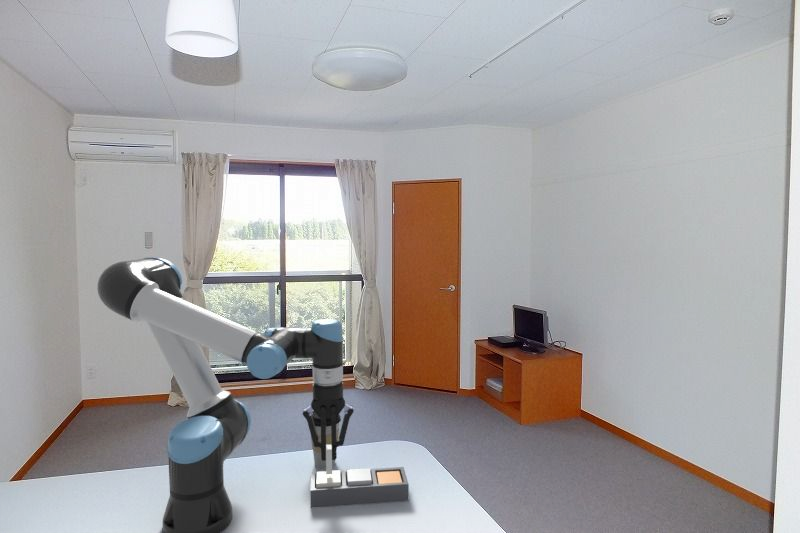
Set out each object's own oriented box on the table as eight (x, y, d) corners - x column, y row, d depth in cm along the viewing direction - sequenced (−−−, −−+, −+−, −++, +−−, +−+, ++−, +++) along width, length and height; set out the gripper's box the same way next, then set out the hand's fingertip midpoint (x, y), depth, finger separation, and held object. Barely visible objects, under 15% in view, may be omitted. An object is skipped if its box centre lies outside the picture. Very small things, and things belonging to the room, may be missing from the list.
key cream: (316, 491, 125) (316, 483, 125) (317, 478, 131) (316, 471, 131) (340, 489, 126) (340, 482, 125) (340, 477, 132) (340, 470, 131)
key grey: (347, 489, 126) (347, 481, 126) (347, 476, 132) (347, 469, 132) (371, 487, 127) (371, 480, 127) (369, 475, 133) (369, 468, 132)
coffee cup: (338, 471, 141) (338, 420, 140) (305, 470, 142) (304, 419, 140) (343, 455, 151) (342, 407, 149) (311, 455, 151) (311, 406, 149)
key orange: (378, 491, 127) (378, 484, 127) (376, 479, 133) (376, 472, 133) (402, 490, 128) (402, 482, 128) (399, 478, 134) (399, 470, 134)
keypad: (310, 507, 124) (310, 490, 123) (311, 488, 132) (311, 472, 132) (408, 500, 127) (408, 484, 127) (403, 482, 136) (403, 466, 135)
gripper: (300, 387, 121) (302, 481, 123) (354, 385, 123) (355, 477, 125) (302, 377, 128) (304, 466, 131) (353, 375, 130) (354, 462, 132)
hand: (329, 471), depth 128 cm, fingers closed
